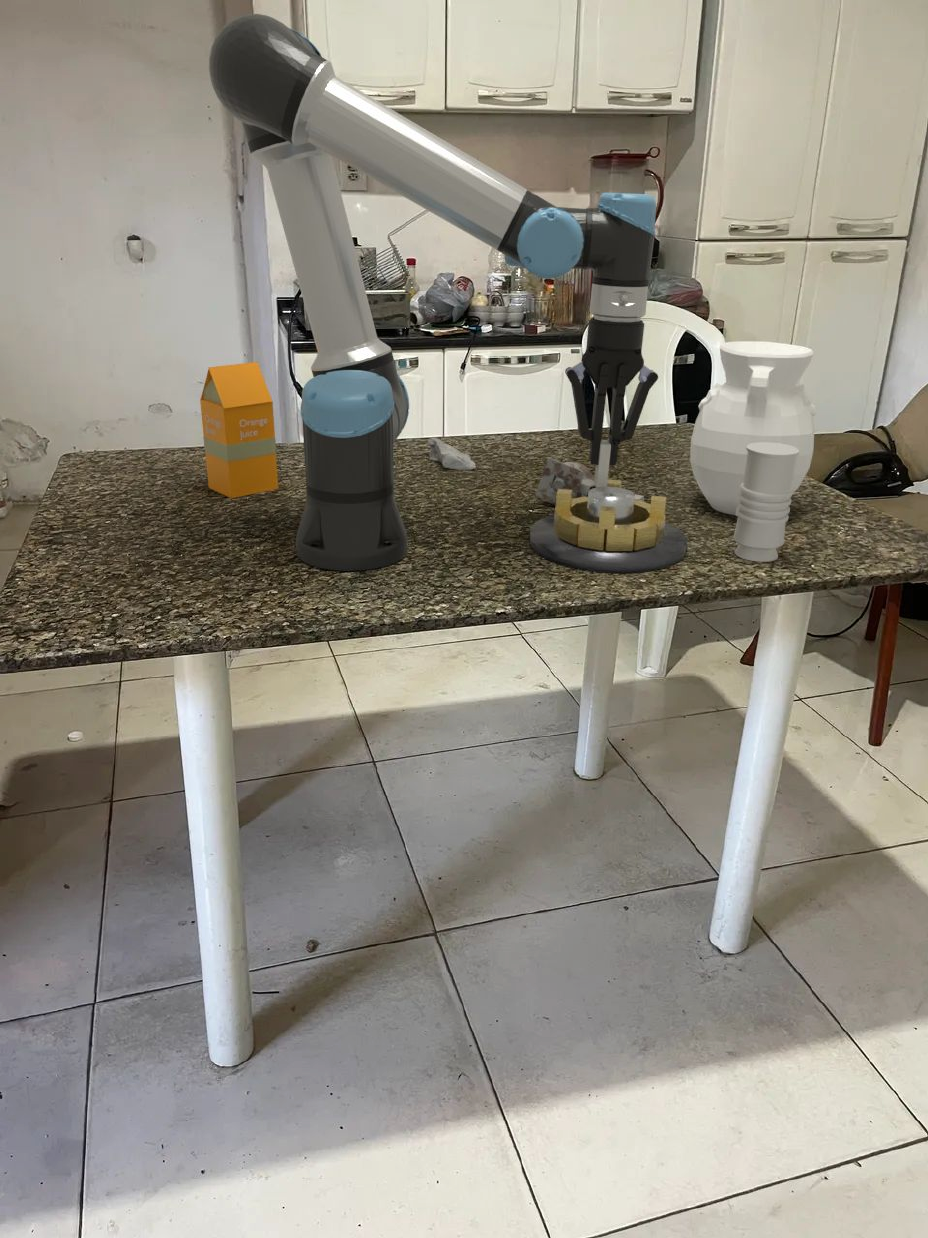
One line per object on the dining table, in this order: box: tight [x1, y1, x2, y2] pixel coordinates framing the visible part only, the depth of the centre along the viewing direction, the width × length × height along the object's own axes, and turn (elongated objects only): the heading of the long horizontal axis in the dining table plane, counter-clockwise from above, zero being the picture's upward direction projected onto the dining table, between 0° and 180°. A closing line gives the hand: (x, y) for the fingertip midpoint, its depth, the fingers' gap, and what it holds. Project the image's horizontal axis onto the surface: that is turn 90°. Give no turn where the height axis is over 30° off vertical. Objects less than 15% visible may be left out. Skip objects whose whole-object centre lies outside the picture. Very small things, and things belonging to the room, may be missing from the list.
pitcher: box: [689, 340, 817, 516], centre depth 147 cm, size 19×18×25 cm
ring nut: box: [553, 479, 667, 551], centre depth 133 cm, size 15×15×6 cm
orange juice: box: [199, 361, 279, 499], centre depth 152 cm, size 8×9×20 cm
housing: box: [529, 487, 688, 574], centre depth 133 cm, size 22×22×8 cm
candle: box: [733, 442, 799, 563], centre depth 129 cm, size 7×7×15 cm
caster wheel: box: [535, 457, 596, 506], centre depth 151 cm, size 7×11×10 cm
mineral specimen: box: [427, 436, 477, 471], centre depth 173 cm, size 6×12×4 cm, turn 17°
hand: (600, 486), depth 138 cm, fingers closed
